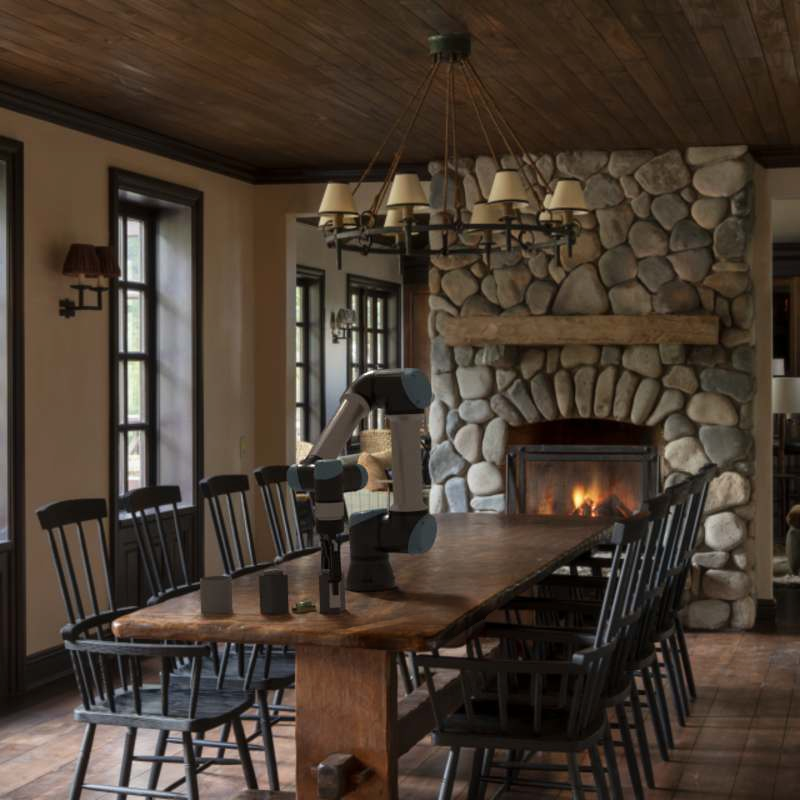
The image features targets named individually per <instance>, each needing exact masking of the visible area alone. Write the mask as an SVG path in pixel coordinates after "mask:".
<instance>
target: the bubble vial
mask: <svg viewBox="0 0 800 800" xmlns="http://www.w3.org/2000/svg"><path fill="white" fill-rule="evenodd" d="M316 609H317V606H316V604H313V602H312V601H311V600H310V601H309V600H307V601H303V602H297V603H295V606H292V607H291V611H292V612H291V613H294V614H297V615H298V614H304V613H308V612H314V611H317V610H316Z"/></svg>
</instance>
